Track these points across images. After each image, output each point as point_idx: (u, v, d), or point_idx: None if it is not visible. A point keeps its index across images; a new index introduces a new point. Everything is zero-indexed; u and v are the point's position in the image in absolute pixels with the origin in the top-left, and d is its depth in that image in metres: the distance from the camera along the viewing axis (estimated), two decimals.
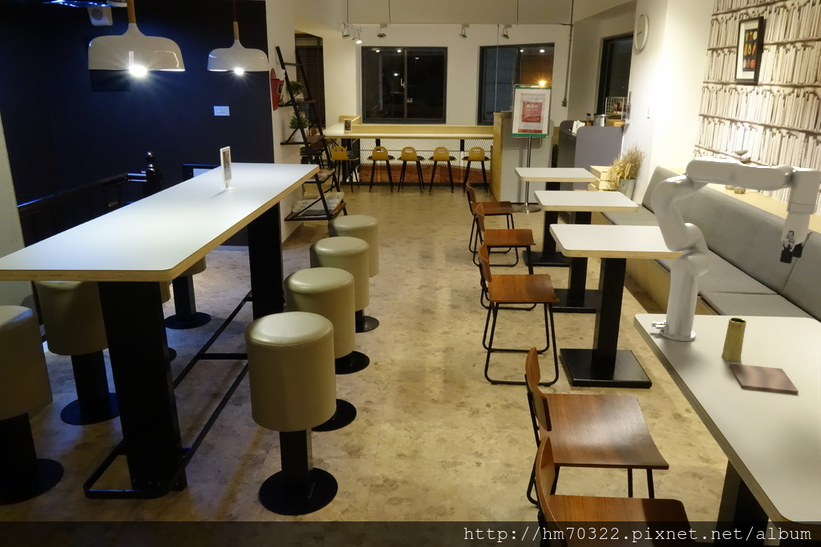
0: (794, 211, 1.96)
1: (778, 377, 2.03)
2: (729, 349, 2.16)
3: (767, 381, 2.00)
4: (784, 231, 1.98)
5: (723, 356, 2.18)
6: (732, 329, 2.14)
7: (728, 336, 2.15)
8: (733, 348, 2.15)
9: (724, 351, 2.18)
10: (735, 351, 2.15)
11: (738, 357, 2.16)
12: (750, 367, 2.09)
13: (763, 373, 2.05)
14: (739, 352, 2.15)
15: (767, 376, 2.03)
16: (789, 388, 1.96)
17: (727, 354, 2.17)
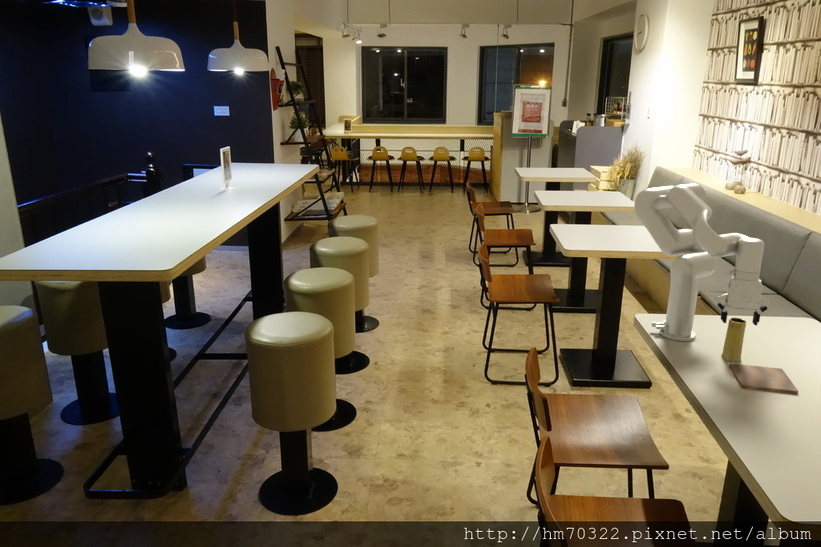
0: (758, 278, 2.08)
1: (778, 377, 2.03)
2: (729, 349, 2.16)
3: (767, 381, 2.00)
4: (761, 298, 2.08)
5: (723, 356, 2.18)
6: (732, 329, 2.14)
7: (728, 336, 2.15)
8: (733, 348, 2.15)
9: (724, 351, 2.18)
10: (735, 351, 2.15)
11: (738, 357, 2.16)
12: (750, 367, 2.09)
13: (763, 373, 2.05)
14: (739, 352, 2.15)
15: (767, 376, 2.03)
16: (789, 388, 1.96)
17: (727, 354, 2.17)
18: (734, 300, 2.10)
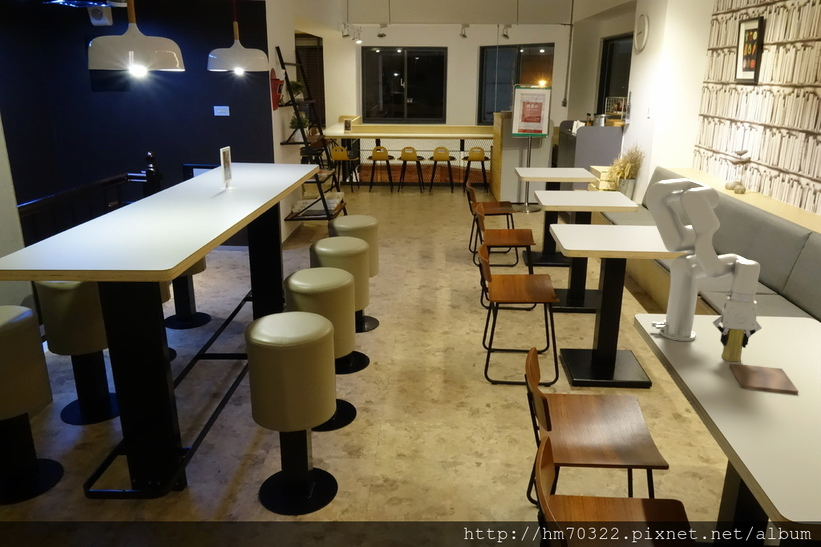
0: None
1: (778, 377, 2.03)
2: (729, 349, 2.16)
3: (767, 381, 2.00)
4: None
5: (723, 356, 2.18)
6: (732, 329, 2.14)
7: (728, 336, 2.15)
8: (733, 348, 2.15)
9: (724, 351, 2.18)
10: (735, 351, 2.15)
11: (738, 357, 2.16)
12: (750, 367, 2.09)
13: (763, 373, 2.05)
14: (739, 352, 2.15)
15: (767, 376, 2.03)
16: (789, 388, 1.96)
17: (727, 354, 2.17)
18: (729, 321, 2.12)
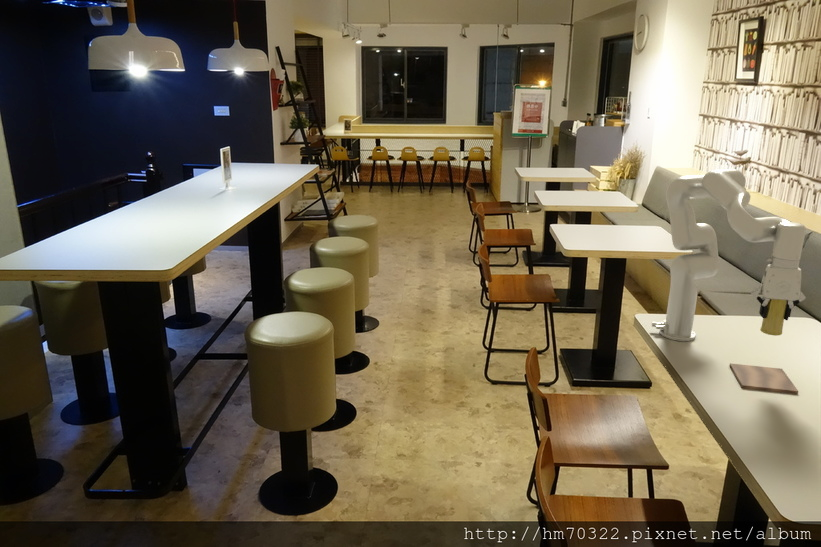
0: None
1: (778, 377, 2.03)
2: (769, 322, 1.96)
3: (767, 381, 2.00)
4: None
5: (762, 330, 1.98)
6: (773, 300, 1.94)
7: (768, 307, 1.95)
8: (774, 320, 1.95)
9: (764, 324, 1.98)
10: (776, 324, 1.95)
11: (779, 330, 1.96)
12: (750, 367, 2.09)
13: (763, 373, 2.05)
14: (781, 325, 1.95)
15: (767, 376, 2.03)
16: (789, 388, 1.96)
17: (767, 327, 1.97)
18: (770, 290, 1.92)
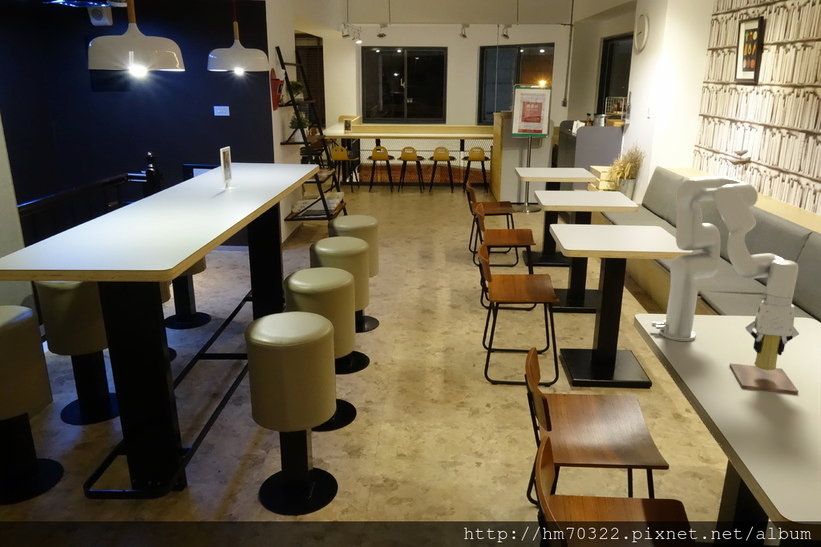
0: None
1: (778, 377, 2.03)
2: (763, 357, 1.99)
3: (767, 381, 2.00)
4: (793, 324, 1.94)
5: (757, 364, 2.01)
6: (767, 335, 1.97)
7: (762, 342, 1.99)
8: (768, 355, 1.98)
9: (758, 359, 2.01)
10: (770, 359, 1.98)
11: (773, 365, 1.99)
12: (750, 367, 2.09)
13: (763, 373, 2.05)
14: (774, 360, 1.99)
15: (767, 376, 2.03)
16: (789, 388, 1.96)
17: (761, 362, 2.00)
18: (764, 326, 1.96)
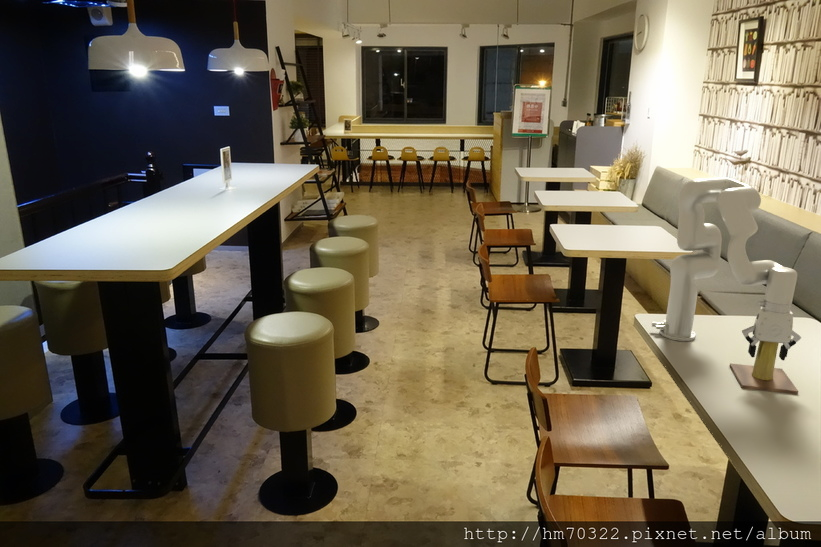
0: None
1: (778, 377, 2.03)
2: (760, 367, 2.00)
3: (767, 381, 2.00)
4: (791, 331, 1.95)
5: (754, 374, 2.03)
6: (764, 346, 1.99)
7: (760, 353, 2.00)
8: (765, 366, 1.99)
9: (755, 369, 2.02)
10: (767, 369, 2.00)
11: (770, 376, 2.00)
12: (750, 367, 2.09)
13: None
14: (771, 370, 2.00)
15: None
16: (789, 388, 1.96)
17: (758, 372, 2.01)
18: (763, 333, 1.96)
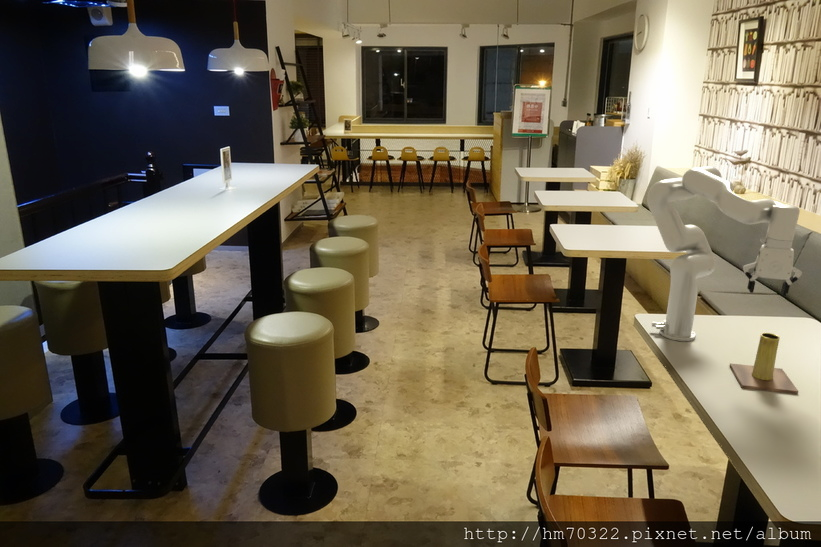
0: None
1: (778, 377, 2.03)
2: (760, 367, 2.00)
3: (767, 381, 2.00)
4: (792, 268, 1.99)
5: (754, 374, 2.03)
6: (764, 346, 1.99)
7: (759, 353, 2.00)
8: (765, 366, 1.99)
9: (755, 369, 2.02)
10: (767, 369, 2.00)
11: (770, 376, 2.00)
12: (750, 367, 2.09)
13: None
14: (771, 370, 2.00)
15: None
16: (789, 388, 1.96)
17: (758, 372, 2.01)
18: (763, 269, 2.01)
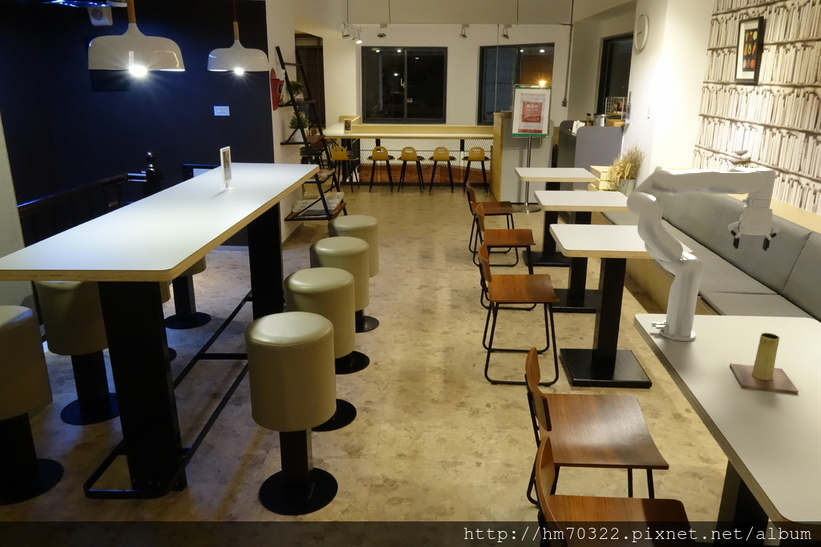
0: (769, 205, 2.24)
1: (778, 377, 2.03)
2: (760, 367, 2.00)
3: (767, 381, 2.00)
4: (771, 224, 2.24)
5: (754, 374, 2.03)
6: (764, 346, 1.99)
7: (759, 353, 2.00)
8: (765, 366, 1.99)
9: (755, 369, 2.02)
10: (767, 369, 2.00)
11: (770, 376, 2.00)
12: (750, 367, 2.09)
13: None
14: (771, 370, 2.00)
15: None
16: (789, 388, 1.96)
17: (758, 372, 2.01)
18: (746, 226, 2.26)
